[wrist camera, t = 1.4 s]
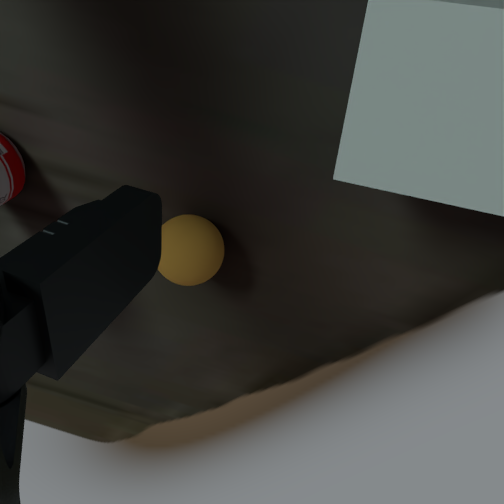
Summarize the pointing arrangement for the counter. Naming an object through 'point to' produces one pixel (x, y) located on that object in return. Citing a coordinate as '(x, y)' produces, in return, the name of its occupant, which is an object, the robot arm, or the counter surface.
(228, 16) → the counter surface
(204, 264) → the ball
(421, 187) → the grey rectangular block
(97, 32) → the counter surface
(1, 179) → the beer can
